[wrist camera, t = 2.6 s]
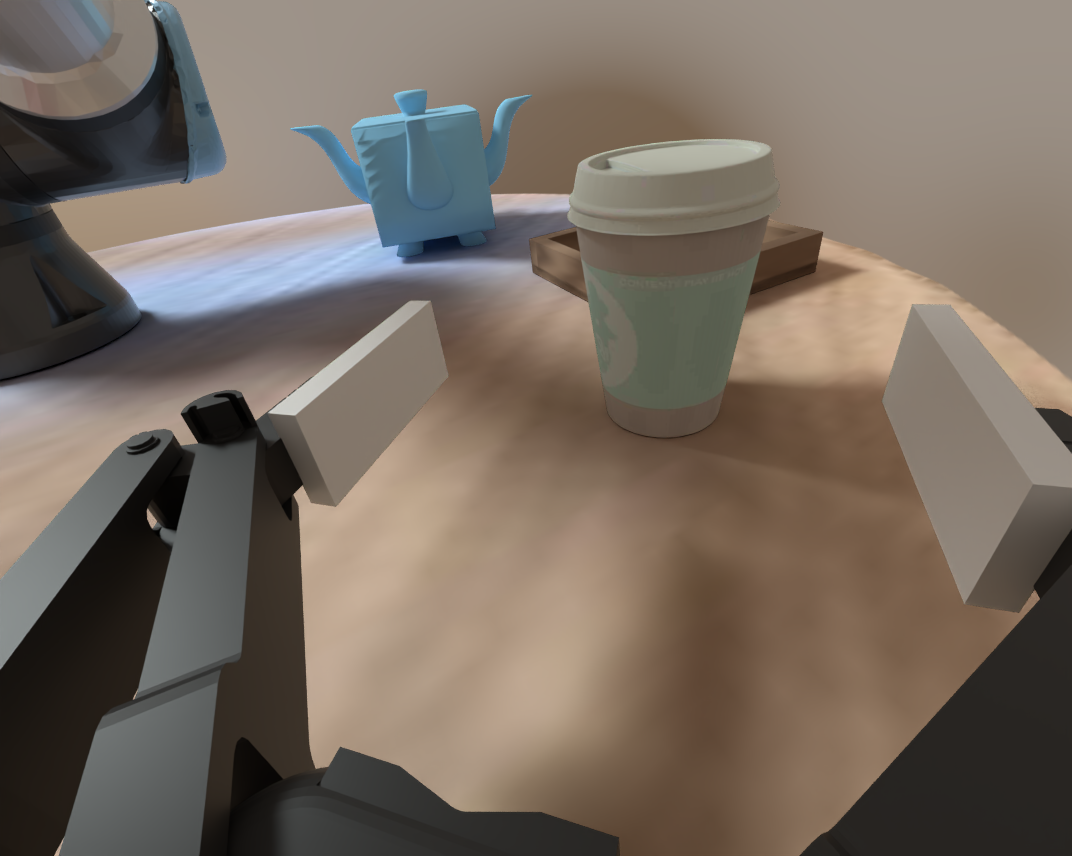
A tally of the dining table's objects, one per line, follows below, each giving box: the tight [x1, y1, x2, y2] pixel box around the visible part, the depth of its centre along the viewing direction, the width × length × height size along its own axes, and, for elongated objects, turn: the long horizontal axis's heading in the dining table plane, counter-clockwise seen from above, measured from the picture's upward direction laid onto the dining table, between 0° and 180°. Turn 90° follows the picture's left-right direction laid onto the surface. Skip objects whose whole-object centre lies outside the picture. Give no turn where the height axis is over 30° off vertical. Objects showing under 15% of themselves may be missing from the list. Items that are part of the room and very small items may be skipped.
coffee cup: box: [567, 139, 780, 438], centre depth 24 cm, size 8×8×12 cm
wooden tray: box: [529, 220, 823, 302], centre depth 43 cm, size 16×16×3 cm
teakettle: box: [290, 90, 532, 257], centre depth 56 cm, size 19×19×15 cm
